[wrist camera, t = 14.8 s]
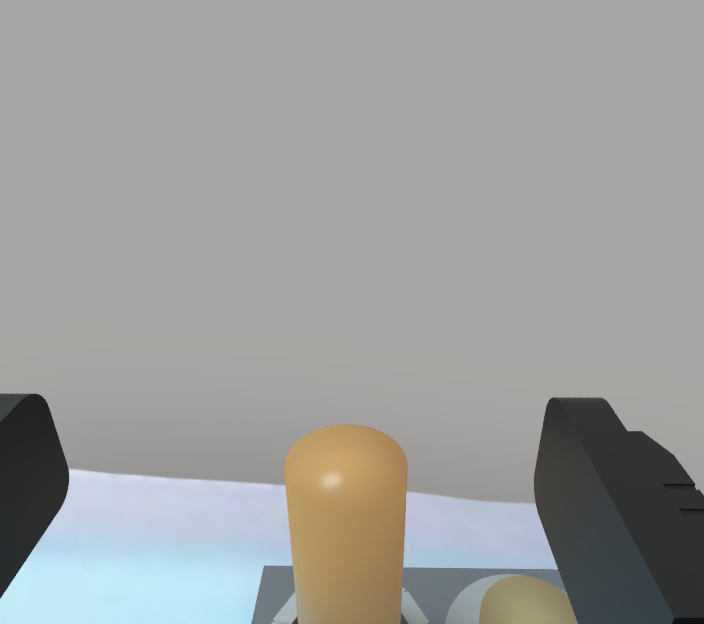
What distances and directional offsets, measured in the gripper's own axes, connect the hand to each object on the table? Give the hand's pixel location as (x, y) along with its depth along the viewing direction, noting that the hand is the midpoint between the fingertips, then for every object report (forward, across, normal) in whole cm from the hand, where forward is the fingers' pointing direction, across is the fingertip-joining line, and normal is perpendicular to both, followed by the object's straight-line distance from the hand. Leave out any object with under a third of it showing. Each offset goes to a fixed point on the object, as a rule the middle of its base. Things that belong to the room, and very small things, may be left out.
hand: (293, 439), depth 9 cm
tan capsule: (+10, 0, +25) cm, 27 cm away
